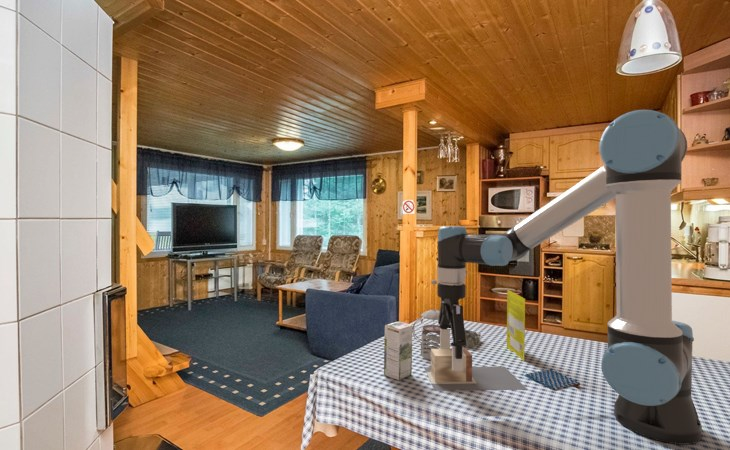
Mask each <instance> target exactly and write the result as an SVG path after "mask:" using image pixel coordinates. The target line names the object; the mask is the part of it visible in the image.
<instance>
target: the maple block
mask: <svg viewBox="0 0 730 450" xmlns="http://www.w3.org/2000/svg"><path fill="white" fill-rule="evenodd" d="M430 367H431V375H432V377H433V379H434V381H435V382H472V367H473V355H472V353H471V352H470V351H469V350H468V349H467V348H463V371H453V370H452V348H450V349H440V348H438V349H431V360H430Z"/></svg>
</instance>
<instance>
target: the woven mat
mask: <svg viewBox="0 0 730 450" xmlns="http://www.w3.org/2000/svg"><path fill="white" fill-rule="evenodd" d="M524 376H525V377H527V378H529V380H530V379H532V380H534V381H535V382H538V383H539V384H541V385H543V386H544V387H547V388H549V389H551V390H555V392H556V391H558V389H560V390H562V389H563V388H569V387H572V386H573V387H575V386H576V387H575V388H578V387H579V388H581V382H580V381H578V380H577V379H573V378H572V377H568V376H567V375H563V373H562V372H558V371H556V370H553V369H552V368H549V369H545V370H544V369H543V370H540V371H533V372H529V373H525V375H524ZM579 388H578V389H579Z"/></svg>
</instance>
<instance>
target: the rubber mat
mask: <svg viewBox="0 0 730 450" xmlns="http://www.w3.org/2000/svg"><path fill="white" fill-rule="evenodd" d="M423 368H424V371H425V373H426V374H427V377H428V379H429V382H430V384H431V386H432V388H433V390H434V391H436V392H437V391H440V392H442V391H447V392H448V391H450V392H451V391H513V390H514V391H521V390H522V391H526V390H527V391H528V387H526V386H525V385H524V384H523V383H522V382H521V381H520V380H519V379H518V378H517V377H516V376H515V375H514V374H513V373H512V372H511V371H510V370H509V369H508V368H507V367H506V366H472V382H435V381H434V379H433V377H432V375H431V366H425V367H423Z"/></svg>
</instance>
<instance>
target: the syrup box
mask: <svg viewBox="0 0 730 450" xmlns="http://www.w3.org/2000/svg"><path fill="white" fill-rule="evenodd" d="M412 328H413V329H414V327H413V324H409V323H407V322H402V321H395V322H391V323H388V324H385V325H384V343H383V344H384V346H383V347H384V350H383V352H384V355H383V375H384V376H386V377H389V378H391V379H394V380H397V381H401V380H403V379H405V378H408V377H409V376H412V370H413V369H412V368H413V367H412V366H413V362H412V361H413V330H412Z"/></svg>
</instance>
